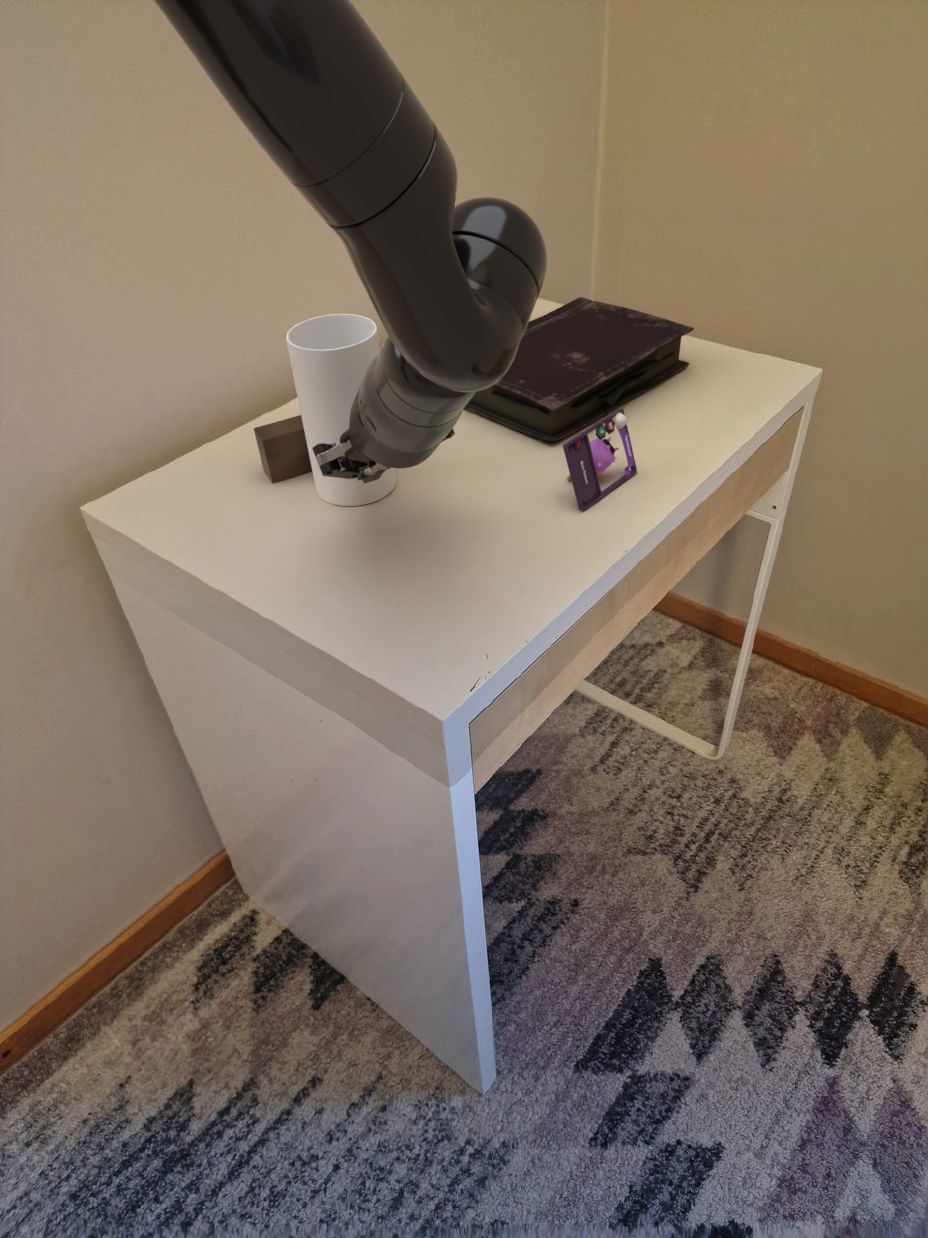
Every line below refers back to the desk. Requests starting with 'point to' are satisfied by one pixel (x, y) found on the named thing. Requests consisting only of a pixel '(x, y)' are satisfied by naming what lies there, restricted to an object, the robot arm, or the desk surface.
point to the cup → (334, 394)
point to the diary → (581, 367)
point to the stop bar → (283, 449)
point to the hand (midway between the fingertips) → (366, 471)
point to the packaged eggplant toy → (597, 459)
